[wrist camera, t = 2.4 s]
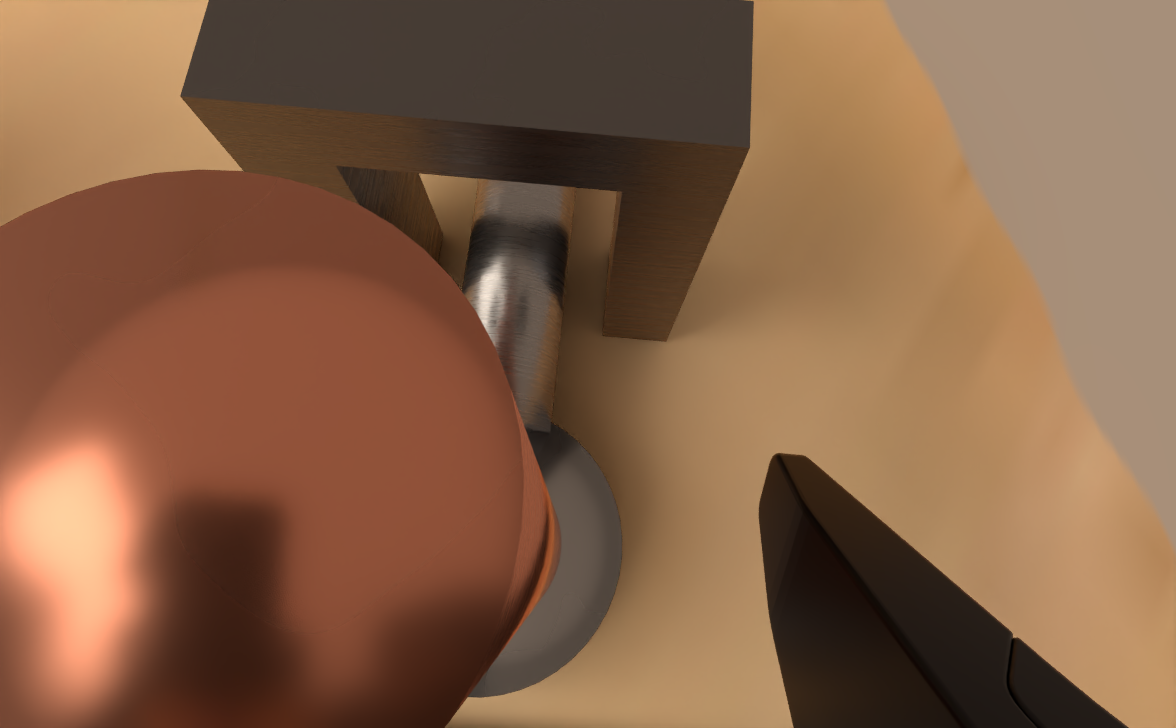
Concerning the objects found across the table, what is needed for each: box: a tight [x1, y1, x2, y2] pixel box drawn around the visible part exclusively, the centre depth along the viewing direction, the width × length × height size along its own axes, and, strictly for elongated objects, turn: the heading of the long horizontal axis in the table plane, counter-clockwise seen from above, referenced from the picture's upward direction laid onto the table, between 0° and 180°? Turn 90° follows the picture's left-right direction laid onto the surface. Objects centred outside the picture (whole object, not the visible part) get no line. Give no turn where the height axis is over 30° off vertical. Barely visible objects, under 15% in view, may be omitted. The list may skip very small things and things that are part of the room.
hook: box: [0, 170, 622, 728], centre depth 11 cm, size 17×6×13 cm, turn 175°
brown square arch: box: [181, 0, 754, 341], centre depth 13 cm, size 2×8×8 cm, turn 85°
